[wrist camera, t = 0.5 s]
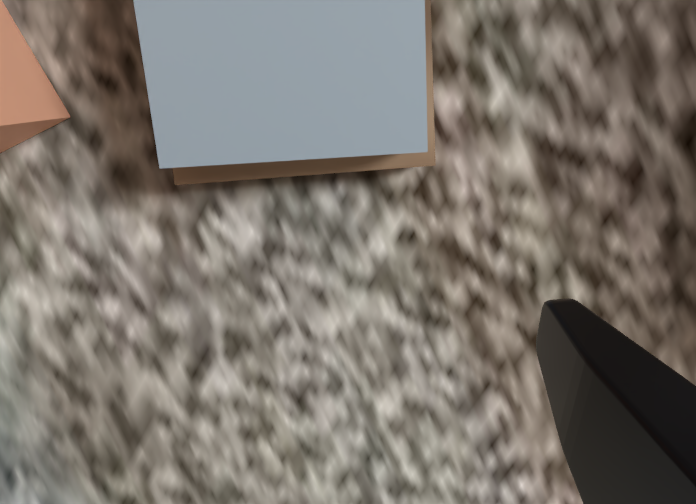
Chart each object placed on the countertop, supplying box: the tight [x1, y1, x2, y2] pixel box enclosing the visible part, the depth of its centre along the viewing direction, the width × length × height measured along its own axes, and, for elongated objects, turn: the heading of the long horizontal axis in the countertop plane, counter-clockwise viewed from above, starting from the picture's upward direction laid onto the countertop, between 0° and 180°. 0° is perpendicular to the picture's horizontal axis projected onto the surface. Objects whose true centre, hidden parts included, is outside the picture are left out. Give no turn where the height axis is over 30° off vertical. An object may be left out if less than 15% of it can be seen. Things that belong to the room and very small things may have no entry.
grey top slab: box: [133, 0, 428, 169], centre depth 17 cm, size 8×8×2 cm
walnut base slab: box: [172, 0, 435, 185], centre depth 19 cm, size 9×9×2 cm
